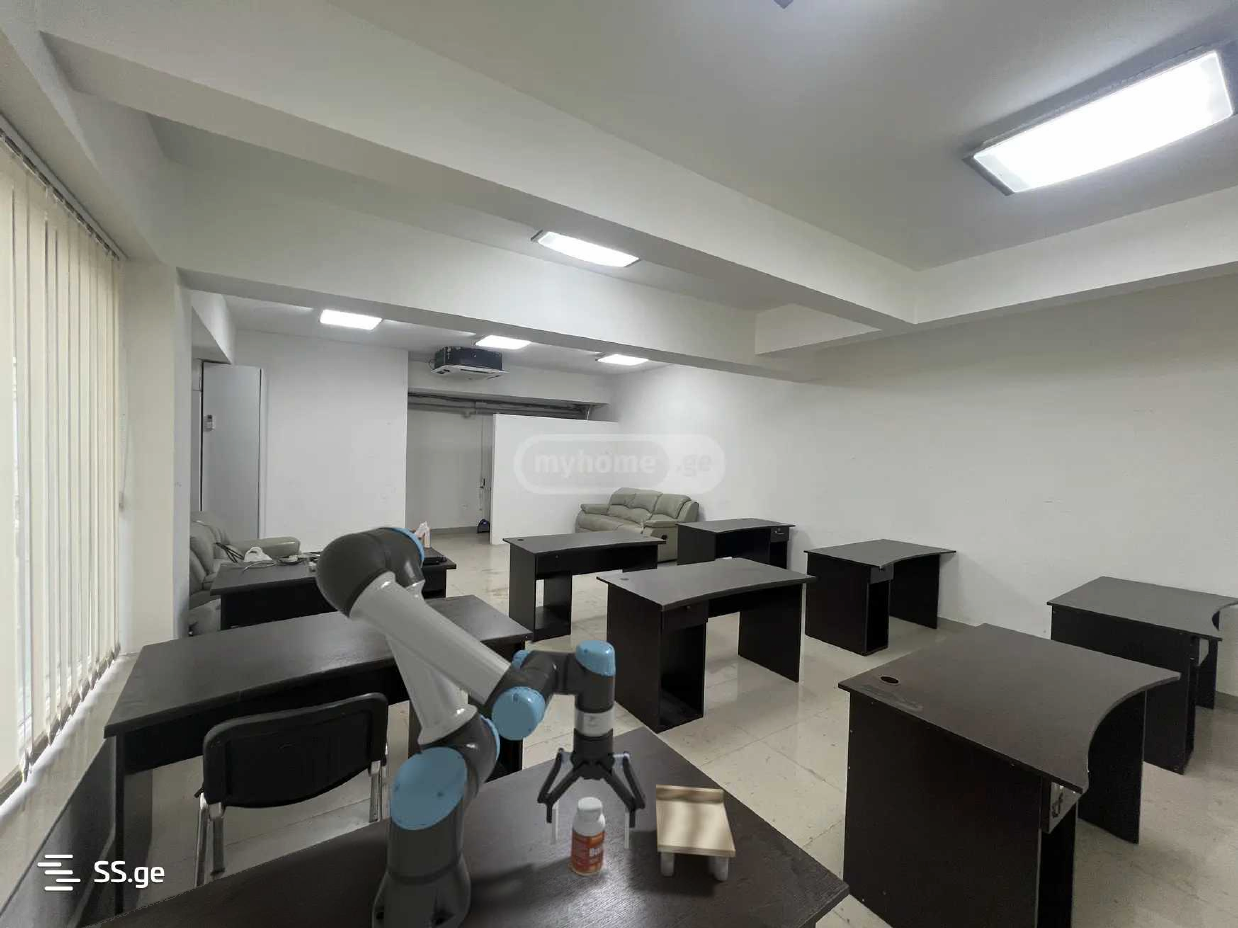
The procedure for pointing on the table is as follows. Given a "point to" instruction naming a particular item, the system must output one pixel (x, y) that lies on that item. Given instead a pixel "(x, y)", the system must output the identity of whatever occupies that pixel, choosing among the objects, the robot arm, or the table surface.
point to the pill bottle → (588, 837)
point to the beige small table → (692, 826)
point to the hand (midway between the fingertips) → (590, 841)
